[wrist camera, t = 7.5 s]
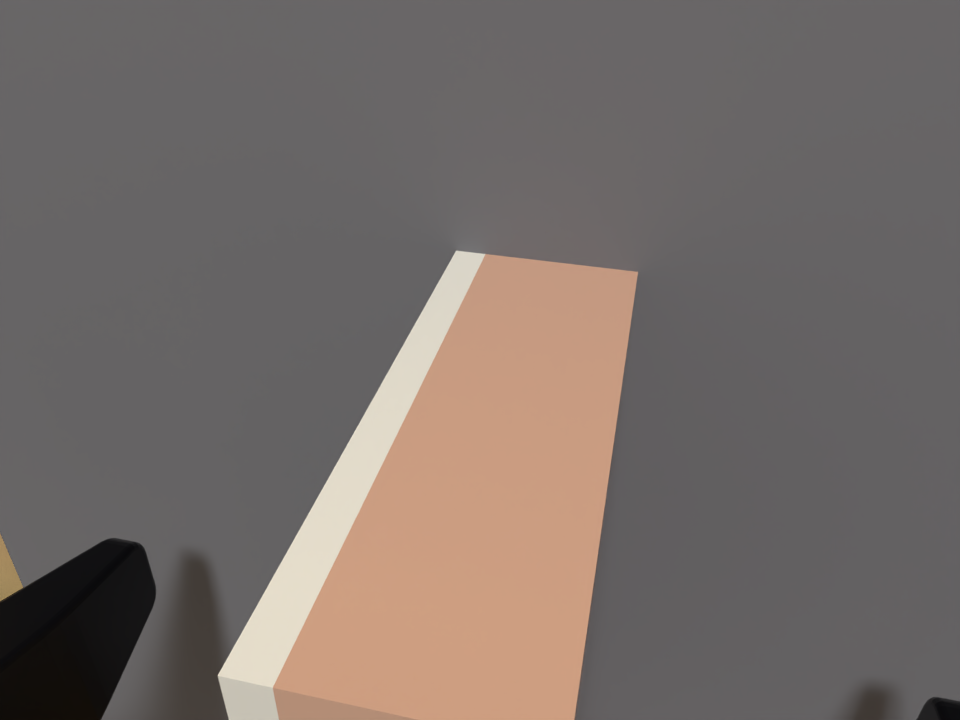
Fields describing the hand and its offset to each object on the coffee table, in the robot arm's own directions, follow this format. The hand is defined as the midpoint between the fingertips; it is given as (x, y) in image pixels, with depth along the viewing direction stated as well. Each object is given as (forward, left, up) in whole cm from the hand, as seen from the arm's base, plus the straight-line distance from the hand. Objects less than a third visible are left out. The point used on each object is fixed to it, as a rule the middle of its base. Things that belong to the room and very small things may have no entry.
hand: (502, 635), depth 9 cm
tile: (0, 0, -1) cm, 1 cm away
